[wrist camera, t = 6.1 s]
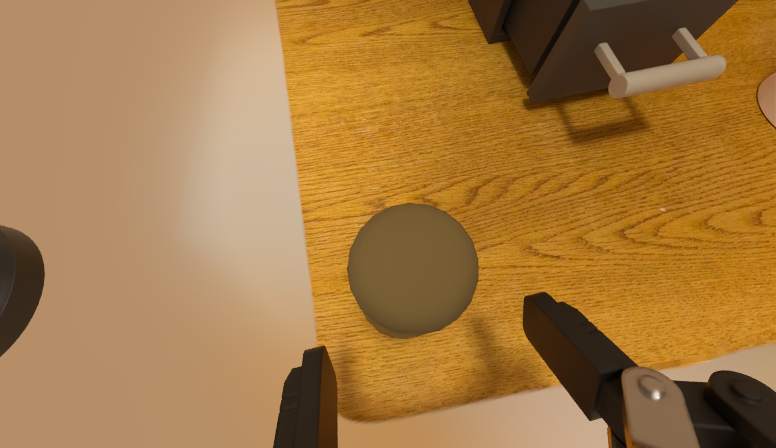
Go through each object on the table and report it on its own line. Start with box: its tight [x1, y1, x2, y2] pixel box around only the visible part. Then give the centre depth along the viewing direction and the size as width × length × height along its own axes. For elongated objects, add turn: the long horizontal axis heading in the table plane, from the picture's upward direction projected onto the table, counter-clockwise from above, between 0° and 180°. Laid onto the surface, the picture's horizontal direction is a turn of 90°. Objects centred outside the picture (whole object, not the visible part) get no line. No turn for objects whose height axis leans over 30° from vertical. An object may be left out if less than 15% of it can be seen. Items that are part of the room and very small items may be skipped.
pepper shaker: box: [347, 203, 478, 339], centre depth 16 cm, size 6×6×11 cm
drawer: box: [503, 0, 738, 103], centre depth 23 cm, size 18×11×8 cm, turn 13°
